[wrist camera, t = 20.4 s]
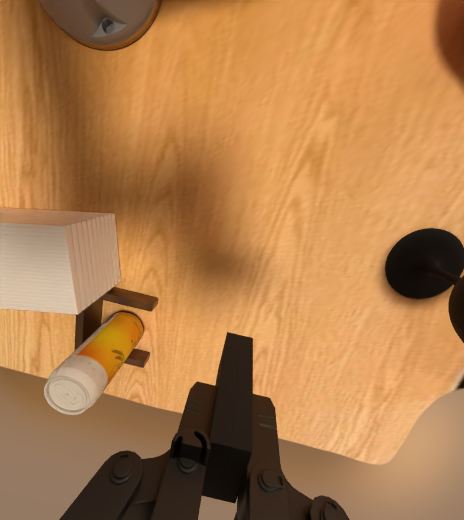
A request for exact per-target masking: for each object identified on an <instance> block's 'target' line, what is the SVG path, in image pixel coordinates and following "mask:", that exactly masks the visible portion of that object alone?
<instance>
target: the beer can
mask: <svg viewBox="0 0 464 520" xmlns="http://www.w3.org/2000/svg"><path fill="white" fill-rule="evenodd" d="M142 335H143V327H142V325H141V322H140V321H139V319H138V318H137V317H136V316H134V315H132V314H130V313H125V312H119V313H115V314H113V315H112V316H111V317H110V318H109V319H108V320H107V321H106V322H105V323H104V324H102V325H101V326H100V327H99V328H98V329H97V330H96V331H95V332H94V333H93V334H92V335H91V336H90V337H89V338H88V339H87V340H86V341H85V342H84V343H83V344H82V345H81V346H79V347H78V348H77V349H76V350H75V351H74V352H73V353H72V354H71V355H70V356H69V357H68V358H67V359H66V360H65V361H64V362H63V363H62V364H61V365H60V366H59V367H58V368H56V369H55V370H54V371H53V372H52V373H51V375H50V376H49V379H48V382H47V383H46V385H45V387H44V394H45V398H46V400H47V402H48V403H49V404H50V405H51V406H52V407H53V408H54V409H56V410H57V411H59V412H61V413H64V414H68V415H77V414H80V413H82V412H84V411H85V410H86V409H87V408H89V407H91V406H92V405H94V404H95V402H96V401H97V399H98V398H99V397H100V395H101V394H102V392H103V391H104V390H105V388H106V387H107V385H108V384H109V383H110V381H111V380H112V378H113V377H114V376H115V374H116V373H117V371H118V370H119V369H120V367H121V366H122V364H123V363H124V362H125V360H126V359H127V357H128V356H129V355H130V353H131V352H132V350H133V349H134V347H135V346H136V345H137V343H138V342H139V340H140V339H141V337H142Z"/></svg>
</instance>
